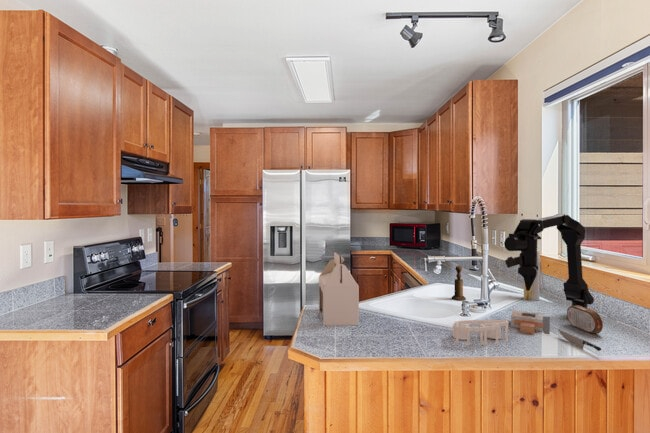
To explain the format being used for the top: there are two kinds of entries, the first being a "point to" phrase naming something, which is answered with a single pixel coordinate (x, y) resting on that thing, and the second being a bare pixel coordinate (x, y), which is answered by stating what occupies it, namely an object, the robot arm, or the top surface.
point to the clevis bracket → (527, 321)
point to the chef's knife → (577, 340)
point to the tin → (584, 319)
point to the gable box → (338, 294)
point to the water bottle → (537, 280)
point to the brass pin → (527, 294)
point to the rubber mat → (546, 325)
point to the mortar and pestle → (458, 286)
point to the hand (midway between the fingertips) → (528, 289)
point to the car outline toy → (486, 329)
